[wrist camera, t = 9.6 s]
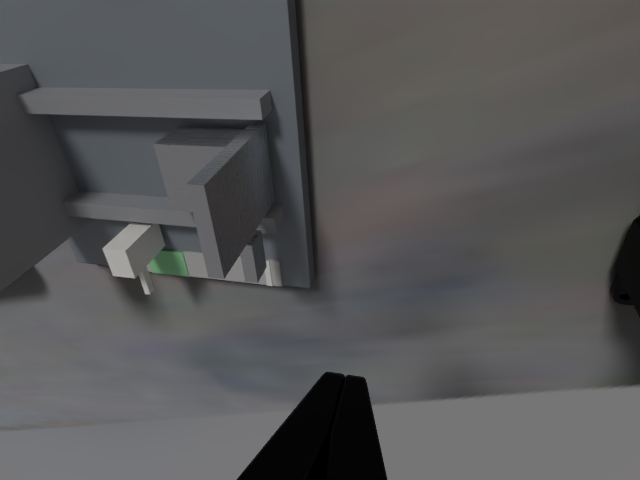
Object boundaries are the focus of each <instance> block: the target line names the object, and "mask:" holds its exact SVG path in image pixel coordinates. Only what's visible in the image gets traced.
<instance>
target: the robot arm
mask: <svg viewBox="0 0 640 480" xmlns="http://www.w3.org/2000/svg"><path fill="white" fill-rule="evenodd" d="M615 270H616V272H617V274H616V277H615V279H614V282H613V284H612V287H611V290H610V292H611V295H612V297H613V299H614V301H616V302H617V303H619V304H625V305H634V307H635V309H636V311H637V313H638V314H639V316H640V216H638V217H637V218H636V219H634V220H633V223H632V225H631V228H630V230H629V233H628V235H627V238H626V240H625V242H624V245H623V247H622V250H621V252H620V255H619V257H618V260H617V262H616V265H615ZM624 291H626V292H627V293H626V294H621V293H622V292H624ZM237 480H387V477H386V471H385V467H384V462H383V458H382V453H381V448H380V443H379V439H378V434H377V430H376V425H375V420H374V415H373V411H372V406H371V401H370V397H369V392H368V387H367V383H366V379H365V378H364V377H360V376H353V375H347V376H346V377H345V376H344V375H343V374H340V373H334V372H326V373H324V374H323V375H322V376H321V377H320V379H319V380H318V381H317V382H316V384H315V385H314V386H313V387H312V388H311V390H310V391H309V392H308V393H307V395H306V396H305V397H304V398H303V399H302V401H301V402H300V403H299V404H298V405H297V407H296V408H295V409H294V410H293V412H292V413H291V414H290V415H289V416H288V418H287V419H286V420H285V421H284V423H283V424H282V425H281V426H280V427H279V429H278V430H277V431H276V432H275V433H274V435H273V436H272V437H271V438H270V440H269V441H268V442H267V443H266V444H265V446H264V447H263V448H262V449H261V451H260V452H259V453H258V454H257V455H256V457H255V458H254V459H253V461H252V462H251V463H250V464H249V465H248V466H247V468H246V469H245V470H244V471H243V472H242V474H241V475H240V476H239V478H238V479H237Z"/></svg>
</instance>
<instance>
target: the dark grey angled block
mask: <svg viewBox="0 0 640 480" xmlns="http://www.w3.org/2000/svg"><path fill="white" fill-rule="evenodd" d="M153 145H154V148H155V152H156V156H157V159H158V163H159V167H160V170H161V174H162V178H163V181H164V185H165V189H166V192H167V196H168V200H169V203H170V207H171V211H183V212H193V216H194V220H195V224H196V228H197V232H198V237H199V241H200V245H201V249H202V253H203V257H204V261H205V265H206V269H207V274H208V277H210V278H219V279H225V277H226V276H227V274H228V273H229V271H230V270H231V268H232V267H233V265H234V263H235V262H236V260H237V259H238V257H239V256H241V262H242V267H243V272H244V278H245V282H253V283H258V282H259V280H260V278H261V276H262V275H263V273H264V271H265V269H266V267H267V265H266V259H265V252H264V245H263V238H262V231H261V230H256V229H257V228H258V226H259V225H260V223H261V222H262V220H263V219H264V217H265V215H266V214H267V212H268V211H269V209H270V208H271V206H272V205H273V203H274V201H275V196H274V188H273V179H272V171H271V163H270V155H269V146H268V138H267V130H266V122H251V123H250V124H249V125H248V126H247V127H246V128H245V129H235V128H204V127H177V128H175V129H174V130H173V131H171V132H170V133H168V134H167V135H166V136H164V137H163V138H161V139H160V140H158V141H157V142H156V143H154V144H153Z"/></svg>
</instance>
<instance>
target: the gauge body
mask: <svg viewBox="0 0 640 480" xmlns="http://www.w3.org/2000/svg"><path fill="white" fill-rule="evenodd" d="M251 122H266V130H267V138H268V146H269V155H270V163H271V171H272V179H273V188H274V196H275V201H274V203H273V205H272V206H271V208H270V209H269V211H268V212H267V214H266V215H265V217H264V219H263V220H262V222H261V223H260V225H259V226H258V228H257V229H256V230H261V231H262V238H263V245H264V252H265V259H266V265H267V267H266V269H265V271H264V273H263V275H262V276H261V278H260V280H259V282H258V283H254V284H263V285H267V286H281V287H282V285H285V286H294V287H303V288H311V285H312V283H313V280H314V277H315V271H314V257H313V243H312V229H311V216H310V202H309V188H308V174H307V160H306V146H305V132H304V118H303V104H302V90H301V76H300V63H299V49H298V35H297V21H296V7H295V0H0V292H2V291H3V290H4V289H5V288H7V287H8V286H9V285H10V284H12V283H13V282H14V281H15V280H17V279H18V278H19V277H20V276H22V275H23V274H24V273H25V272H27V271H28V270H29V269H31V268H32V267H33V266H34V265H36V264H37V263H38V262H39V261H41V260H42V259H43V258H44V257H46V256H47V255H48V254H49V253H51V252H52V251H53V250H54V249H56V248H57V247H58V246H59V245H61V244H62V243H63V242H64V241H66V240H67V239H68V240H69V243H70V245H71V247H72V249H73V252H74V254H75V256H76V258H77V261H78V262H80V263H89V264H97V265H106V266H109V264H108V262H107V259H106V257H105V254H104V252H103V249H102V248H103V247H105V246H106V245H107V244H108V243H109V242H110V241H111V240H112V239H113V238H114V237H116V236H117V235H118V234H119V233H120V232H121V231H122V230H123V229H124V228H126V227H127V226H128V225H129V224H130V223H131V222H141V223H153V224H159V226H160V229H161V233H162V236H163V239H164V243H165V246H164V247H163V249H162V250H161V251H160V252H159V253H158V254H157V255H156V256H155V257H154V258H153V260H152V261H151V262H150V263H149V264H148V265H147V269H148V272H153V273H159V274H168V275H176V276H185V277H189V276H192V277H201V278H210V277H208V274H207V269H206V265H205V261H204V257H203V253H202V249H201V245H200V241H199V237H198V232H197V228H196V224H195V220H194V216H193V212H183V211H171V207H170V203H169V200H168V196H167V192H166V189H165V185H164V181H163V178H162V174H161V170H160V167H159V163H158V159H157V156H156V152H155V148H154V145H153V144H154V143H156V142H157V141H158V140H160V139H161V138H163V137H164V136H166V135H167V134H168V133H170V132H171V131H173V130H174V129H175V128H177V127H204V128H235V129H245V128H246V127H247V126H248V125H249V124H250V123H251ZM210 279H218V280H227V281H236V282H245V278H244V272H243V267H242V262H241V256H239V257H238V259H237V260H236V262H235V263H234V265H233V267H232V268H231V270H230V271H229V273H228V274H227V276H226V277H225V279H219V278H210ZM245 283H253V282H245Z"/></svg>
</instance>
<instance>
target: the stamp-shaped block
mask: <svg viewBox="0 0 640 480" xmlns="http://www.w3.org/2000/svg"><path fill="white" fill-rule="evenodd" d="M164 246H165V243H164V239H163V236H162V233H161V229H160V226H159V224H153V223H141V222H131V223H130V224H129V225H128V226H127V227H126V228H124V229H123V230H122V231H121V232H120V233H119V234H118V235H117V236H116V237H114V238H113V239H112V240H111V241H110V242H109V243H108V244H107V245H106V246H105V247H103V248H102V249H103V252H104V254H105V257H106V259H107V262H108V264H109V267H110V269H111V272H112V275H113V276H117V277H126V278H136V277H137V276H138V275H139V278H140V281H141V283H142V286H143V289H144V292H145V294H149V295H151V293H152V292H153V291H154V287H153V284H152V281H151V278H150V275H149V272H148V269H147V265H148V264H149V263H150V262H151V261H152V260H153V258H154V257H155V256H156V255H157V254H158V253H159V252H160V251H161V250H162V249H163V247H164Z"/></svg>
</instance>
